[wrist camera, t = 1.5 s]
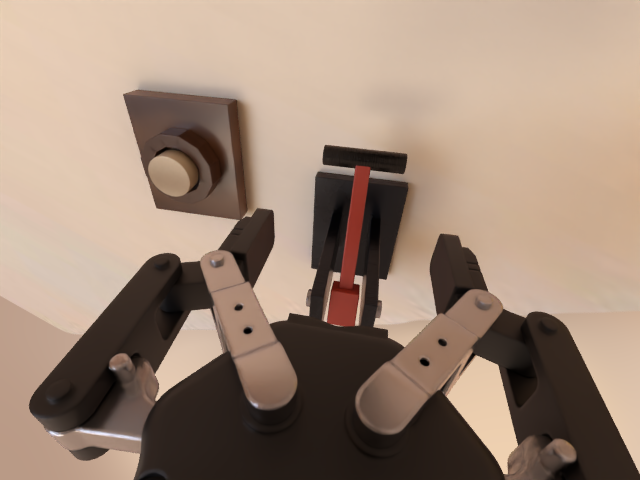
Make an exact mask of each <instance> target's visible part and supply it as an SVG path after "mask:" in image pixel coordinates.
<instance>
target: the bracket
mask: <svg viewBox="0 0 640 480" xmlns="http://www.w3.org/2000/svg"><path fill="white" fill-rule="evenodd" d="M353 181H354V176H347V175H339V174H330V173H322V172H318V173H317V175H316V179H315V200H314V222H313V243H312V264H311V268H313V269H317V273H316V277H315V280H314V284H313V288H312V290H311V289H309V290H308V294H307V299H306V306H309V307H310V315H309V316H310V317H314V318H317V319H319V320H322V321H323V320H324V315H325V311H326V306H327V301H328V296H329V291H330V286H331V281H332V277H333V272H339V273H341V269H342V261H343V254H344V247H345V239H346V232H347V225H348V217H349V210H350V203H351V196H352V188H353ZM407 192H408V183H405V182H397V181H389V180H380V179H372V178H369V182H368V189H367V196H366V202H365V209H364V216H363V223H362V230H361V236H360V243H359V250H358V257H357V263H356V270H355V275H358V276H363V282H362V293H361V304H360V315H359V326H368V327H373V326H374V321H375V318H380V315H381V309H382V301H380V300H378V291H379V279H385V280H386V279H387V275H388V271H389V267H390V263H391V259H392V254H393V250H394V246H395V242H396V238H397V234H398V229H399V225H400V221H401V217H402V213H403V209H404V204H405V200H406V196H407Z"/></svg>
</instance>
